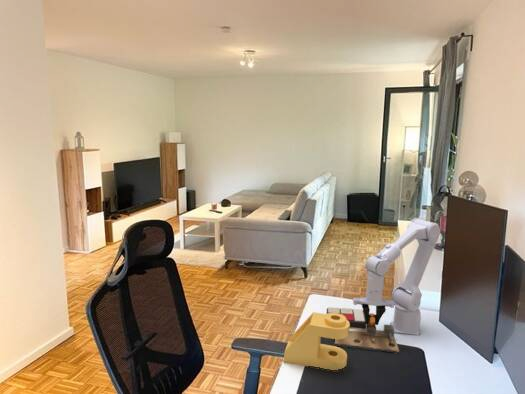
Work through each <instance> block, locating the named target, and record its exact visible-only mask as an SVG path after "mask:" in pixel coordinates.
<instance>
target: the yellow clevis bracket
mask: <svg viewBox="0 0 525 394" xmlns="http://www.w3.org/2000/svg"><path fill="white" fill-rule="evenodd" d="M349 327H350V323H349V321H348V320H347V319H346V317H345V316H343V315H342V314H339V313H328V314H327V313H321V312H315V311H314V312H312V313H311V314H310V315H309V316H308V317H307V318H306V320H305V321H304V322H303V323H302V324H301V325H300V326H299V327H298V328H297V329H296V331H294V332H293V333H292V335H291V336H290V337H289V339H288V342H287V344H286V346H285V349H284V352H283V363H288V364H293V365H298V366H304V367H308V366H314V367H320V368H324V369H330V370H338V369H342V368H344V367H345V366H346V367H347V365H348V363H347V361H348V354H347V353H348V352H347V351H345V350H344V349H343V348H342V347H337V346H335V345H329V344H324V343H321V339H322V338H325V339H332V340H334V339H344V338H347V337H348V336H349ZM324 369H323V370H324Z"/></svg>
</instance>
